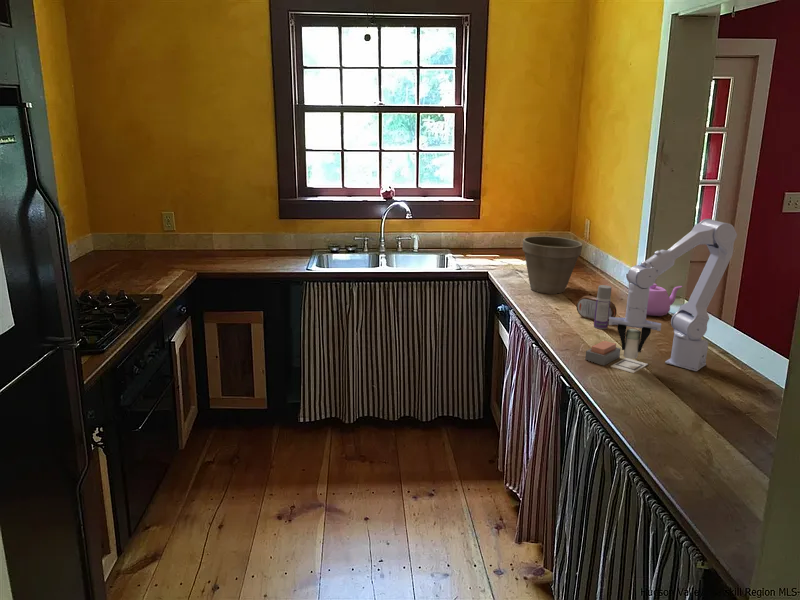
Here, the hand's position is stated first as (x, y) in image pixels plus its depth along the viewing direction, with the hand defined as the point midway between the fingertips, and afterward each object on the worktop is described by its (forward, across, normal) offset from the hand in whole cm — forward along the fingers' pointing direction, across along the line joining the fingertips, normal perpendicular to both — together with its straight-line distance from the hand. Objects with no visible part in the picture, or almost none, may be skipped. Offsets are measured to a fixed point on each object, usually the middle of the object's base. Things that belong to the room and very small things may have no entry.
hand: (631, 350), depth 192 cm
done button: (+2, +8, -3) cm, 9 cm away
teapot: (+5, -6, -64) cm, 64 cm away
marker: (+2, 0, 0) cm, 2 cm away
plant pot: (+5, +36, -82) cm, 90 cm away
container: (+5, +11, -36) cm, 38 cm away
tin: (+5, +14, -45) cm, 47 cm away
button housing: (+5, +8, -3) cm, 10 cm away
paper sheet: (+5, 0, 0) cm, 5 cm away
